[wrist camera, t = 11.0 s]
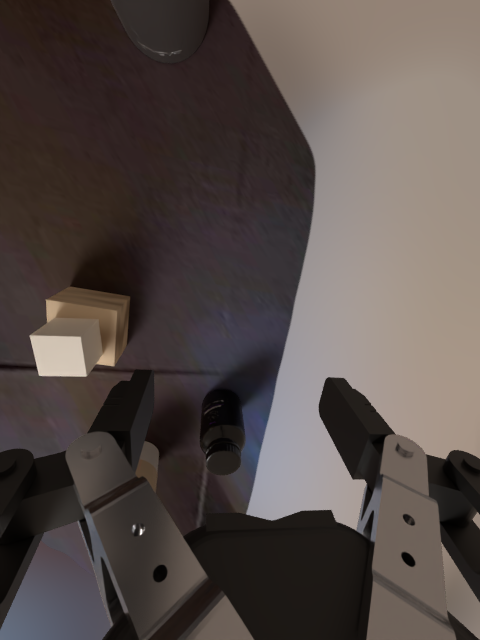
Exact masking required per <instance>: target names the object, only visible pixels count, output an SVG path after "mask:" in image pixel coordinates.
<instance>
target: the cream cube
mask: <svg viewBox="0 0 480 640" xmlns="http://www.w3.org/2000/svg"><path fill="white" fill-rule="evenodd" d="M30 338H31V343H32V347H33V351H34V356H35V360H36V364H37V368H38V373H39V376H87V375H88V374H89V373H90V371H91V370H92V369H93V367H94V366H95V365H96V363H97V362H98V361H99V359H100V358H101V356H102V355H103V351H102V343H101V335H100V327H99V319H82V318H54V319H52V320H51V321H50V322H48V323H47V324H45V325H44V326H42V327H41V328H40V329H38V330H37V331H35V332H34V333H32V334H31V335H30Z"/></svg>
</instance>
